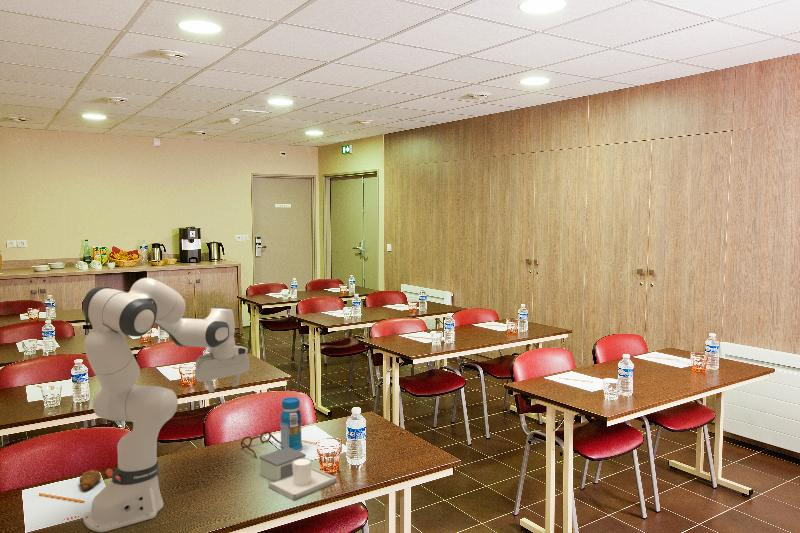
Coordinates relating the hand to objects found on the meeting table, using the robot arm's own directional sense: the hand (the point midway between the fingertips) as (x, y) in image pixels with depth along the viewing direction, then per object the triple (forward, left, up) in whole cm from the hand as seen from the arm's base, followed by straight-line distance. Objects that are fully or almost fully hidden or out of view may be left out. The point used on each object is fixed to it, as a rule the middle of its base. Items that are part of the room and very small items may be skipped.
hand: (223, 389), depth 214 cm
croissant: (-38, +22, -30) cm, 53 cm away
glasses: (+19, +4, -30) cm, 36 cm away
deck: (+10, -27, -29) cm, 41 cm away
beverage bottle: (+27, -4, -29) cm, 40 cm away
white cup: (+10, -32, -28) cm, 44 cm away
